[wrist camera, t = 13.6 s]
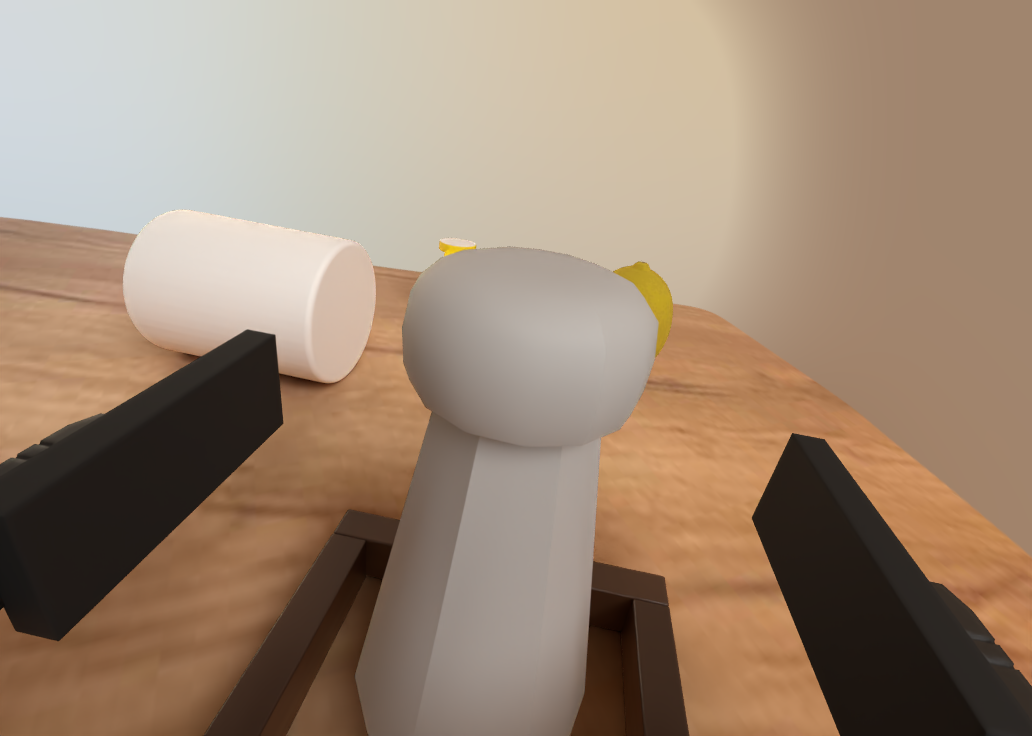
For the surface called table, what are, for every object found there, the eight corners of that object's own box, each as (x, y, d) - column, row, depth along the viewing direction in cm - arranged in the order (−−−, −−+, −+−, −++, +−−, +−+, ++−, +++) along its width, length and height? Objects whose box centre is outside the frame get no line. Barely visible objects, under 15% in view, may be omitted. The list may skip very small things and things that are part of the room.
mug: (312, 410, 26) (304, 260, 22) (138, 372, 27) (102, 222, 23) (399, 328, 36) (403, 217, 33) (272, 302, 37) (262, 192, 34)
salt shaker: (312, 798, 12) (262, 274, 6) (408, 599, 17) (432, 208, 11) (550, 884, 11) (761, 381, 5) (577, 649, 16) (699, 259, 10)
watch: (462, 332, 37) (470, 254, 35) (425, 327, 37) (430, 248, 35) (473, 305, 43) (481, 236, 40) (441, 300, 43) (447, 231, 40)
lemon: (647, 402, 32) (684, 282, 28) (565, 378, 33) (590, 260, 29) (657, 369, 36) (690, 263, 33) (585, 349, 38) (608, 245, 34)
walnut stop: (156, 872, 10) (139, 833, 10) (348, 543, 19) (348, 507, 18) (699, 1017, 10) (730, 989, 9) (651, 609, 18) (665, 575, 17)
